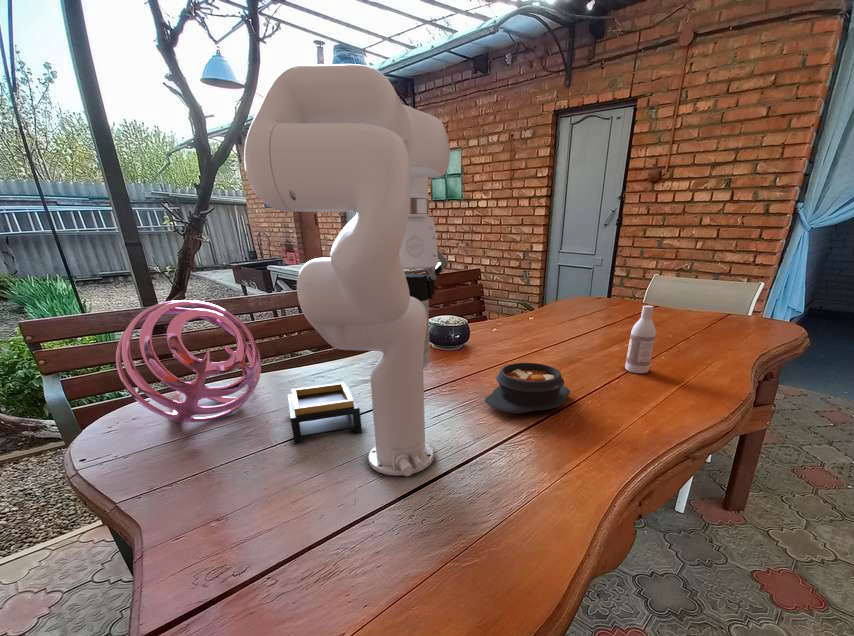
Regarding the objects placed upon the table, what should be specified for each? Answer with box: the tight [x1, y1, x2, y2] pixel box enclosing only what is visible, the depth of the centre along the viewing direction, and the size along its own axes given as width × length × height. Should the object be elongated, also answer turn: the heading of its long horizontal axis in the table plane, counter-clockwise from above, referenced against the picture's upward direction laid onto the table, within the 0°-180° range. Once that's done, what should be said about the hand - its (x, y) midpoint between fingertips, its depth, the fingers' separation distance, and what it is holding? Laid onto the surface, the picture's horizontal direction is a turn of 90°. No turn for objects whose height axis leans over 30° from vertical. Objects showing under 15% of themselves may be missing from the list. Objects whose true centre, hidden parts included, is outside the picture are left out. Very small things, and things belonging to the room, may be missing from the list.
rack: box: [286, 382, 363, 445], centre depth 95 cm, size 14×14×8 cm
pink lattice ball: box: [115, 299, 262, 423], centre depth 98 cm, size 28×28×27 cm
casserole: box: [484, 362, 571, 415], centre depth 108 cm, size 25×19×8 cm
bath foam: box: [624, 304, 657, 374], centre depth 129 cm, size 7×7×20 cm
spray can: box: [405, 273, 431, 368], centre depth 95 cm, size 7×7×20 cm
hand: (413, 298), depth 93 cm, fingers closed on spray can, 6 cm apart
